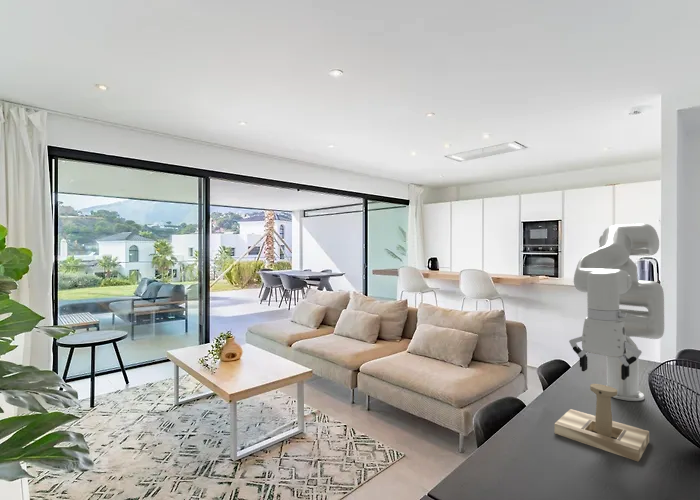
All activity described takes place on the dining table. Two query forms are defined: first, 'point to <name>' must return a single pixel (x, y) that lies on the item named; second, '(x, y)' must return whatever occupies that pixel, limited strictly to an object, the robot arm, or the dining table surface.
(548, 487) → the dining table surface
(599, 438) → the board
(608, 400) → the handle
